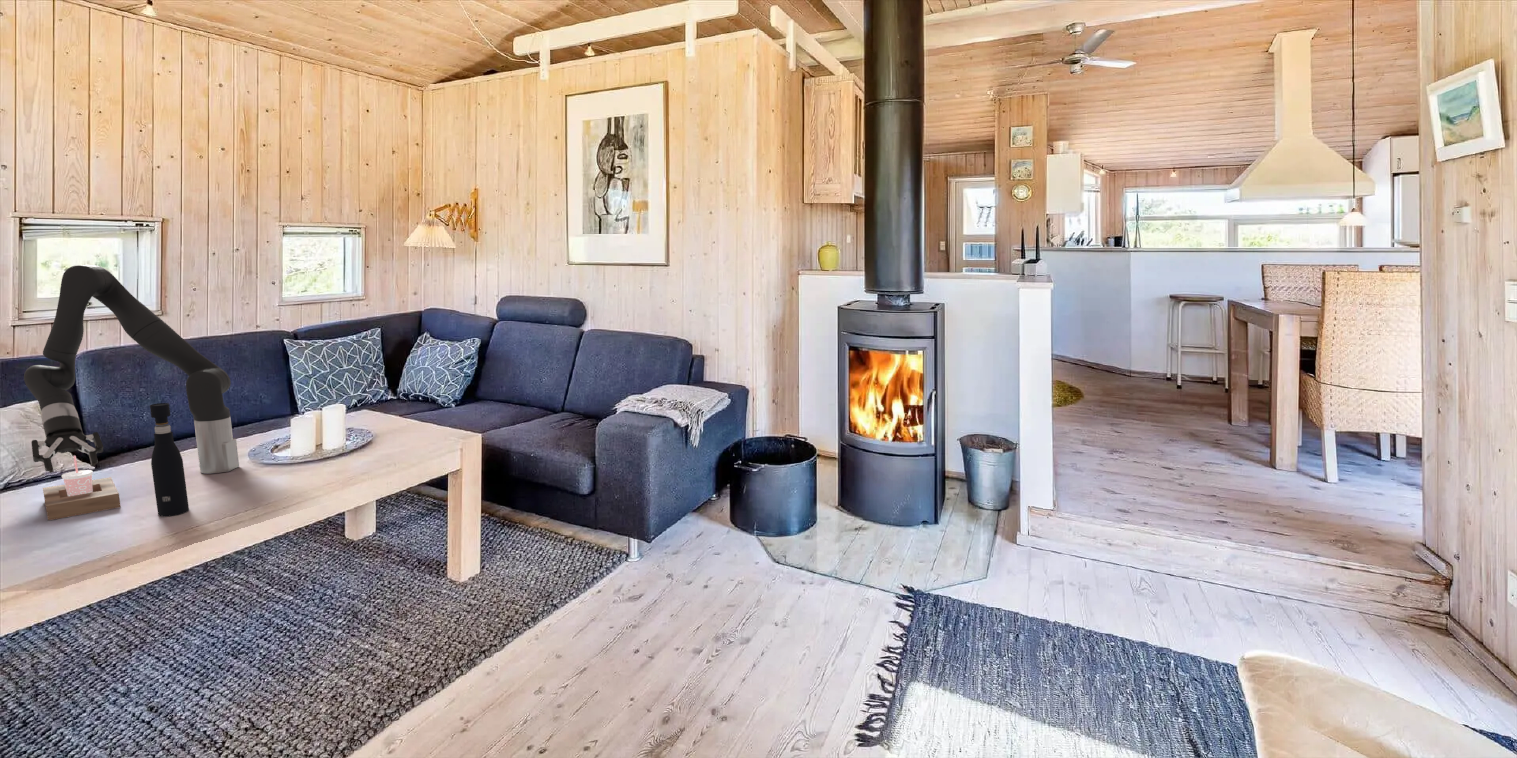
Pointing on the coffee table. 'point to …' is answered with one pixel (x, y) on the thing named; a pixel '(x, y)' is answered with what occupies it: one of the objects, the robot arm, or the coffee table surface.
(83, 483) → the beverage cup
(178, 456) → the black water bottle
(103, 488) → the wooden cup holder
